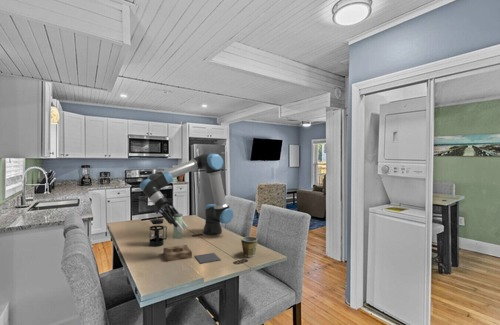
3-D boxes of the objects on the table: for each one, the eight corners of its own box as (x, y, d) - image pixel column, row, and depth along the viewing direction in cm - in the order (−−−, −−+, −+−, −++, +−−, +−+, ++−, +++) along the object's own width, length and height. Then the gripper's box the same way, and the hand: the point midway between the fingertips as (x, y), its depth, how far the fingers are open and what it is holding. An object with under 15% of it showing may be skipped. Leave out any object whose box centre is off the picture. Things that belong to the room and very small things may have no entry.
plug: (180, 235, 155) (181, 213, 155) (182, 238, 151) (183, 214, 151) (172, 236, 153) (173, 213, 153) (174, 239, 149) (174, 215, 149)
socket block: (186, 250, 161) (186, 244, 161) (191, 257, 149) (191, 251, 149) (163, 253, 155) (163, 247, 155) (167, 261, 143) (167, 255, 143)
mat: (213, 253, 156) (213, 252, 156) (220, 260, 146) (220, 259, 146) (194, 256, 151) (194, 255, 151) (200, 263, 140) (200, 262, 140)
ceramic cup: (259, 257, 151) (259, 240, 152) (243, 259, 149) (243, 242, 149) (252, 250, 164) (253, 234, 164) (238, 251, 161) (238, 235, 161)
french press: (148, 247, 165) (149, 212, 166) (147, 243, 174) (147, 210, 174) (167, 245, 171) (168, 211, 171) (165, 241, 179) (165, 209, 179)
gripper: (163, 202, 164) (186, 229, 160) (146, 207, 146) (171, 237, 143) (170, 194, 163) (194, 221, 159) (154, 198, 145) (180, 228, 142)
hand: (183, 229), depth 151 cm, fingers closed on plug, 5 cm apart
